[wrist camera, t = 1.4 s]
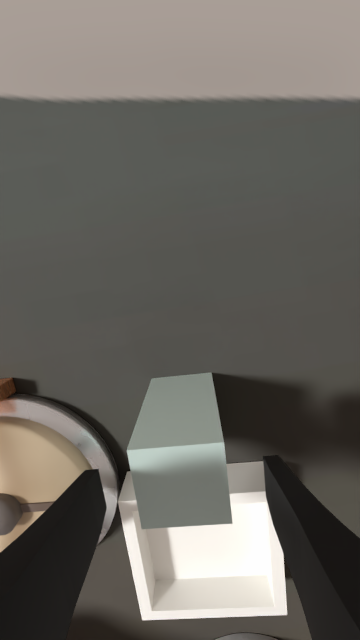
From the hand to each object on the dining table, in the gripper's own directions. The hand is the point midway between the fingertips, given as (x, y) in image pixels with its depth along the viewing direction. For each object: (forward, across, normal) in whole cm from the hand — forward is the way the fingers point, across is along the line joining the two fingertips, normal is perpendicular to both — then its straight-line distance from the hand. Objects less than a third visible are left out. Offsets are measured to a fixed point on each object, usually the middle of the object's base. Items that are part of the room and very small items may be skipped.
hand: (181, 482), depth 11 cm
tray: (+7, 0, +10) cm, 12 cm away
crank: (+6, +12, +5) cm, 14 cm away
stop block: (+7, 0, 0) cm, 7 cm away
